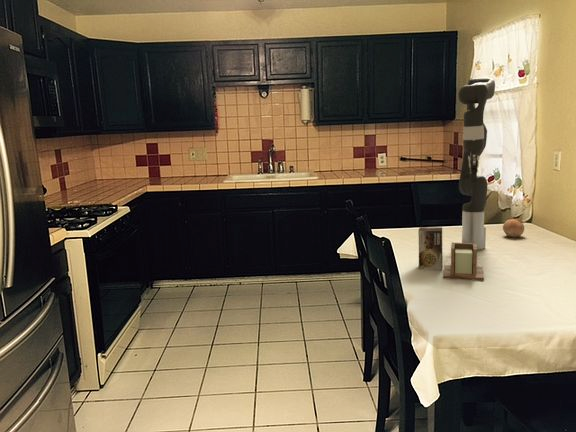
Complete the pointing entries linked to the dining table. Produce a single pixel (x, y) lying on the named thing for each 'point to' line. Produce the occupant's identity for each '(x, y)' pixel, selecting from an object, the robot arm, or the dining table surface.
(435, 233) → the coffee box
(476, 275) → the chute
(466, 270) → the block
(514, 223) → the onion
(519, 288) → the dining table surface
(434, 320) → the dining table surface
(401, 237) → the dining table surface
